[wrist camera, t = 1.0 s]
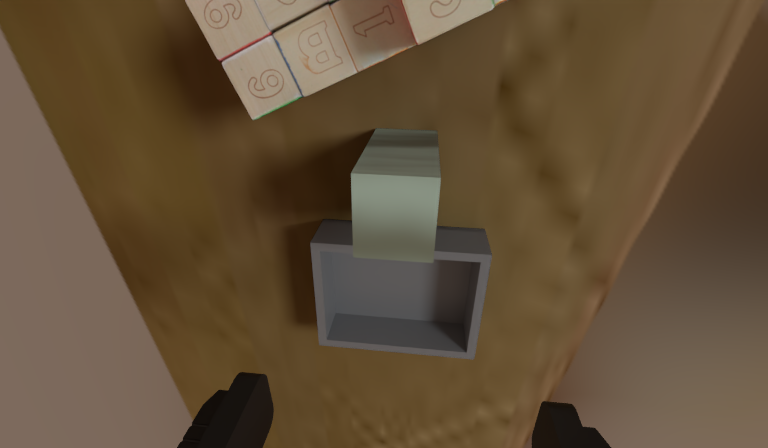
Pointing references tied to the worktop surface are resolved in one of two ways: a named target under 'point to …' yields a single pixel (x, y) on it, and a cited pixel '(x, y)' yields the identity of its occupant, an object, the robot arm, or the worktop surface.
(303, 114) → the worktop surface
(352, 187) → the sage block
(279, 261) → the worktop surface
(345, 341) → the bin
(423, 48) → the worktop surface
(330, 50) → the stack of blocks
